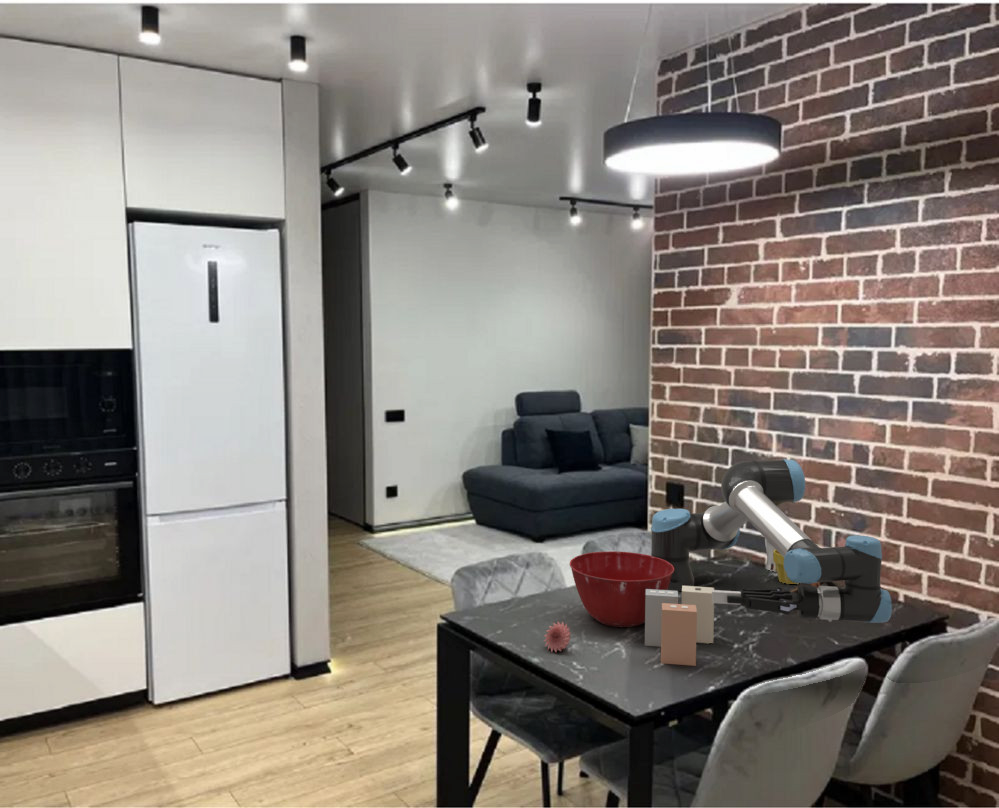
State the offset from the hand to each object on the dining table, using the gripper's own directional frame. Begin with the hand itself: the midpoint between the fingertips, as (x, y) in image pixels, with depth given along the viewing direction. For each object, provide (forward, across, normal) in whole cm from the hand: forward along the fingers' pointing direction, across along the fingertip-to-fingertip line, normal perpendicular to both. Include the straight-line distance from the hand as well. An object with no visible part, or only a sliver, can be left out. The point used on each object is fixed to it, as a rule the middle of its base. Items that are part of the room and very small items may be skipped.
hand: (712, 596), depth 191 cm
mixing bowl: (+22, +27, -16) cm, 38 cm away
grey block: (+12, +11, -16) cm, 22 cm away
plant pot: (-29, +72, -16) cm, 80 cm away
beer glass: (-27, +86, -16) cm, 92 cm away
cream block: (+2, +15, -16) cm, 22 cm away
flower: (+37, +1, -16) cm, 40 cm away
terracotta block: (+8, 0, -16) cm, 18 cm away
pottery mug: (-34, +52, -16) cm, 64 cm away
